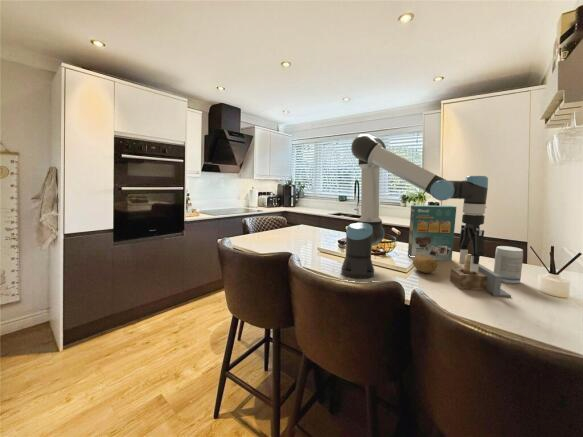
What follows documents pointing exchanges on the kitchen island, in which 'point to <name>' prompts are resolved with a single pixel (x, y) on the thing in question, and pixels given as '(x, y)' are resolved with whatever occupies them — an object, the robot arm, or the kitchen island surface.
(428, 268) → the potato
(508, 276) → the supplement tub
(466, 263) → the dowel
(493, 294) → the bracket
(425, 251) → the cake mix box
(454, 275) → the block
